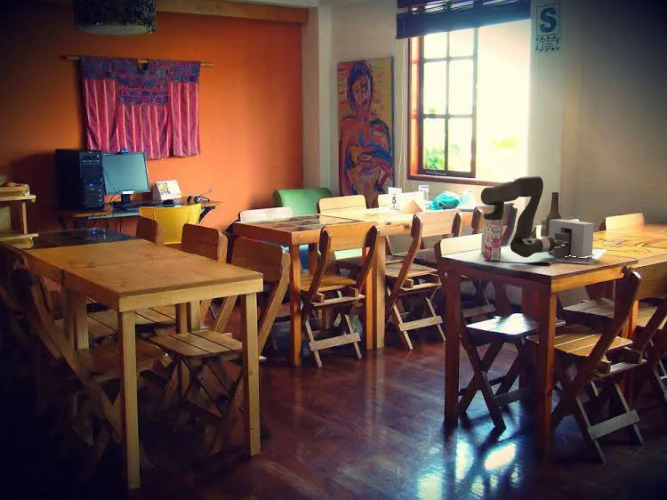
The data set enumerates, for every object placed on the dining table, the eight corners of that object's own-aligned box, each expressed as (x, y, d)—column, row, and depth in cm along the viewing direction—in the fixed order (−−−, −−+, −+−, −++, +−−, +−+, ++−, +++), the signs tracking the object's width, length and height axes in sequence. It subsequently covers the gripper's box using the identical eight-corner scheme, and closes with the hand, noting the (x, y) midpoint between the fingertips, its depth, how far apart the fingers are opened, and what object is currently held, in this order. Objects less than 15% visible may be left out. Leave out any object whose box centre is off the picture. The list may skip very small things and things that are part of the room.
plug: (561, 258, 379) (562, 233, 377) (553, 256, 383) (554, 232, 381) (572, 256, 385) (573, 232, 383) (564, 255, 389) (566, 231, 387)
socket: (582, 259, 377) (584, 224, 375) (547, 253, 393) (549, 220, 390) (591, 257, 382) (594, 223, 380) (557, 251, 398) (559, 218, 395)
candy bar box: (500, 261, 370) (502, 226, 367) (490, 261, 369) (491, 226, 367) (493, 257, 381) (495, 223, 378) (483, 257, 380) (485, 223, 378)
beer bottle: (557, 251, 400) (560, 193, 395) (542, 249, 404) (545, 192, 399) (561, 249, 406) (564, 192, 401) (547, 248, 410) (550, 191, 405)
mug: (538, 243, 426) (539, 221, 424) (541, 240, 436) (542, 219, 434) (568, 245, 421) (569, 223, 419) (570, 242, 430) (571, 220, 428)
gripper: (556, 238, 366) (576, 235, 376) (531, 235, 377) (551, 232, 387) (555, 254, 368) (575, 251, 378) (530, 250, 379) (550, 247, 389)
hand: (563, 241), depth 383 cm, fingers open, 8 cm apart
